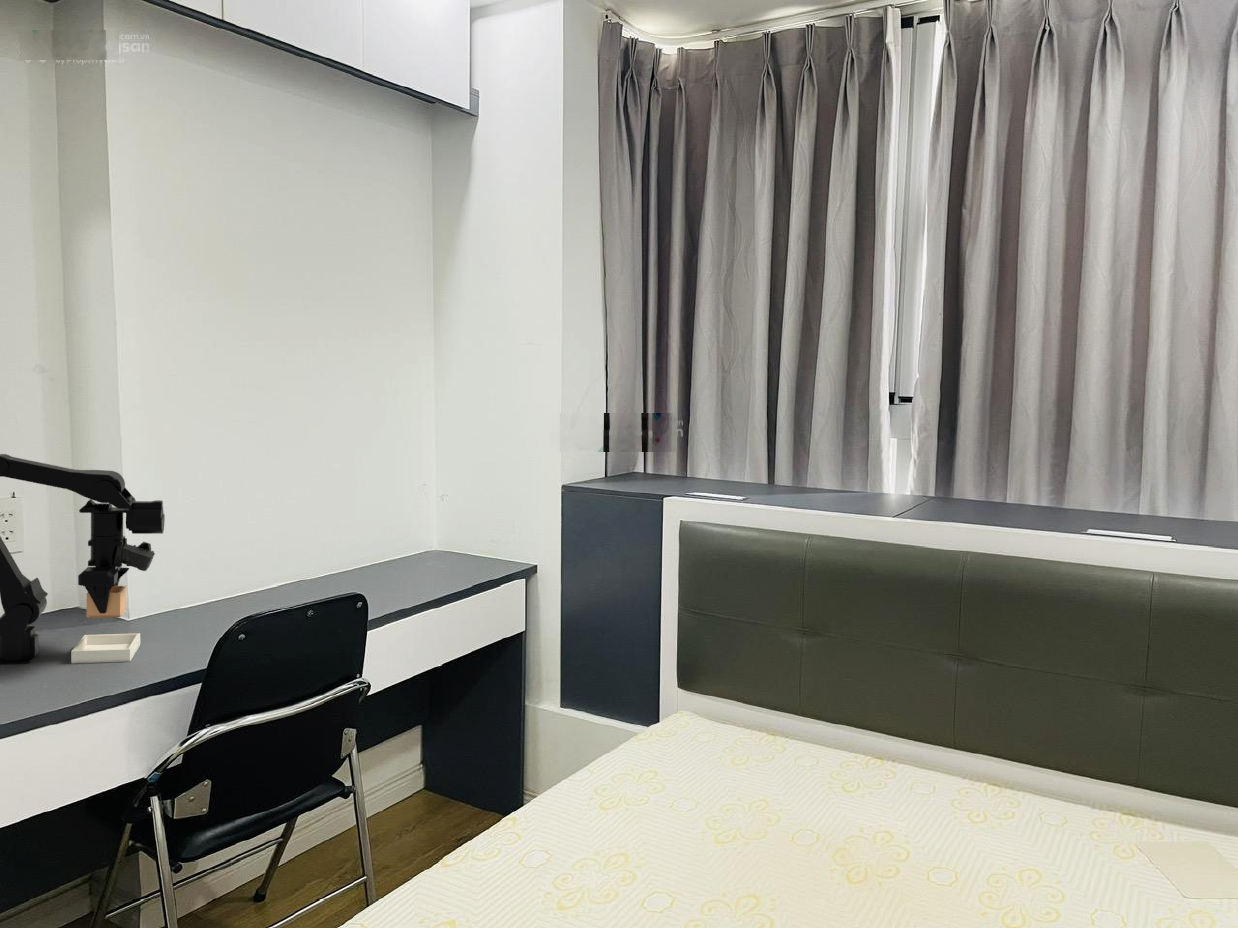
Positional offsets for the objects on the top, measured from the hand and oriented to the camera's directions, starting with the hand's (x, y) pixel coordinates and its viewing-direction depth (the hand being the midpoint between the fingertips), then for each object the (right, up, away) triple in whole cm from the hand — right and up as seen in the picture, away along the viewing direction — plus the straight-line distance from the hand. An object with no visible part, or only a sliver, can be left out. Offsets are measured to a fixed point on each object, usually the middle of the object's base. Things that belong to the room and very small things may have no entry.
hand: (106, 608), depth 183 cm
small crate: (0, -1, 0) cm, 1 cm away
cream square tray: (-1, -9, +1) cm, 10 cm away
